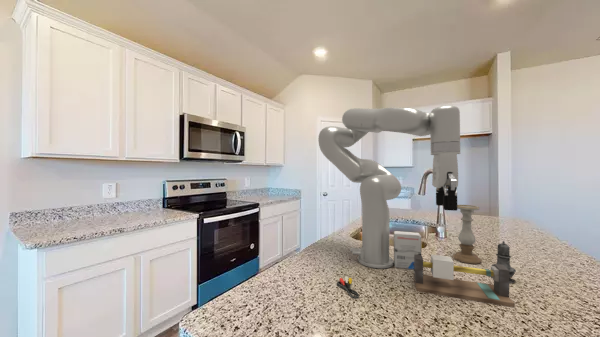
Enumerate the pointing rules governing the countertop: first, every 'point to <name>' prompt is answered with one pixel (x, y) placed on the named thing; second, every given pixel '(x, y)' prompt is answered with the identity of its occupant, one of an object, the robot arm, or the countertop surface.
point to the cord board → (465, 284)
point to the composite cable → (347, 286)
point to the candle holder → (467, 237)
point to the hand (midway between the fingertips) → (445, 207)
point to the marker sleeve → (442, 267)
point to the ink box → (406, 248)
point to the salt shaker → (505, 259)
